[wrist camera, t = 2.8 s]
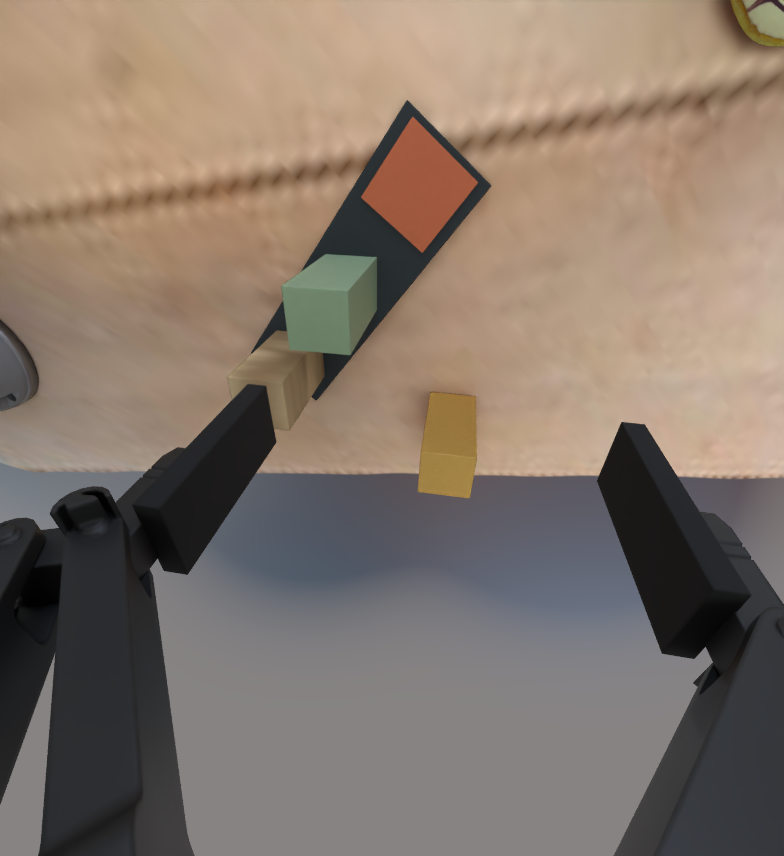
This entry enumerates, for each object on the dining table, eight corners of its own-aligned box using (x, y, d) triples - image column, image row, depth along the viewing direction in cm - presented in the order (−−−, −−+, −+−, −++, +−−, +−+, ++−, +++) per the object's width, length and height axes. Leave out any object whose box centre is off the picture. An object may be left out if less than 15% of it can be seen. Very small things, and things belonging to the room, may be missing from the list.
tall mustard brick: (427, 429, 48) (417, 492, 39) (430, 391, 45) (420, 451, 36) (469, 433, 48) (469, 499, 39) (475, 396, 45) (477, 457, 36)
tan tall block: (282, 372, 46) (238, 426, 37) (276, 330, 43) (226, 376, 34) (325, 376, 46) (289, 432, 37) (321, 333, 43) (282, 382, 34)
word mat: (317, 398, 48) (315, 401, 48) (252, 351, 46) (249, 353, 45) (491, 185, 33) (491, 186, 33) (407, 100, 31) (406, 99, 31)
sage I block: (328, 307, 41) (289, 351, 32) (325, 253, 38) (280, 285, 29) (377, 311, 40) (350, 357, 32) (377, 256, 38) (348, 290, 29)
